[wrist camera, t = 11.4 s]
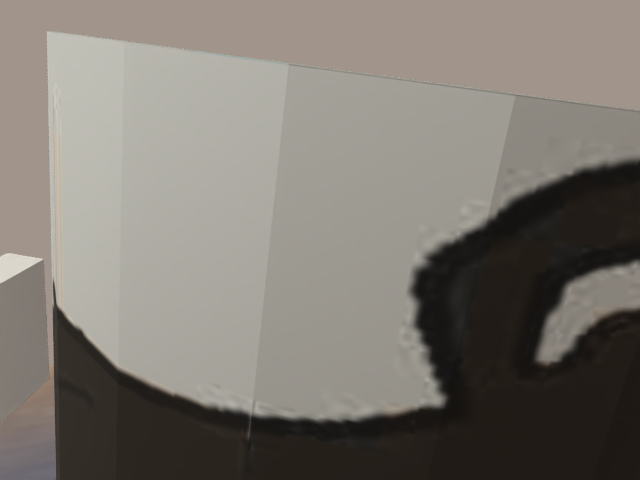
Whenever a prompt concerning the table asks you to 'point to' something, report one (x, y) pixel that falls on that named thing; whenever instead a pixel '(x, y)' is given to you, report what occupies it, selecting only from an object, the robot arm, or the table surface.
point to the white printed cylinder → (336, 274)
